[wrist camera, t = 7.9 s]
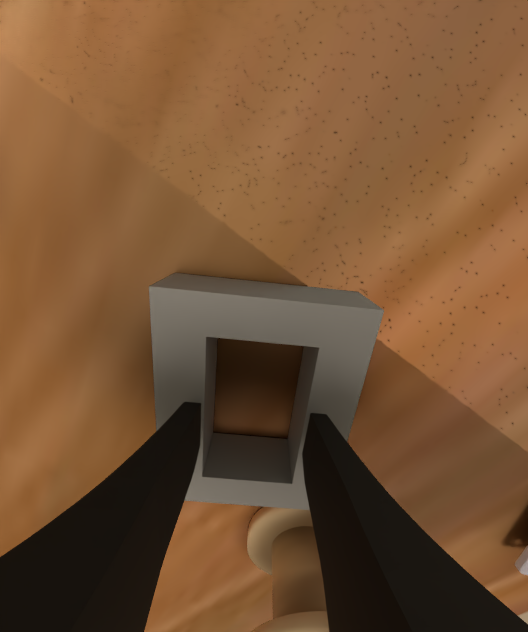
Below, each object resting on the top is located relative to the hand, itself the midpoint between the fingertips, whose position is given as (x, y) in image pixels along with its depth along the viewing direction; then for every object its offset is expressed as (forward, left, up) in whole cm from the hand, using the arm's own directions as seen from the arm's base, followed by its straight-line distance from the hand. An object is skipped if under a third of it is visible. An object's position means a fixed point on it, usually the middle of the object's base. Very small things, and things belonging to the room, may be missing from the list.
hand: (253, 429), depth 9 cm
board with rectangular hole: (0, 0, -3) cm, 3 cm away
